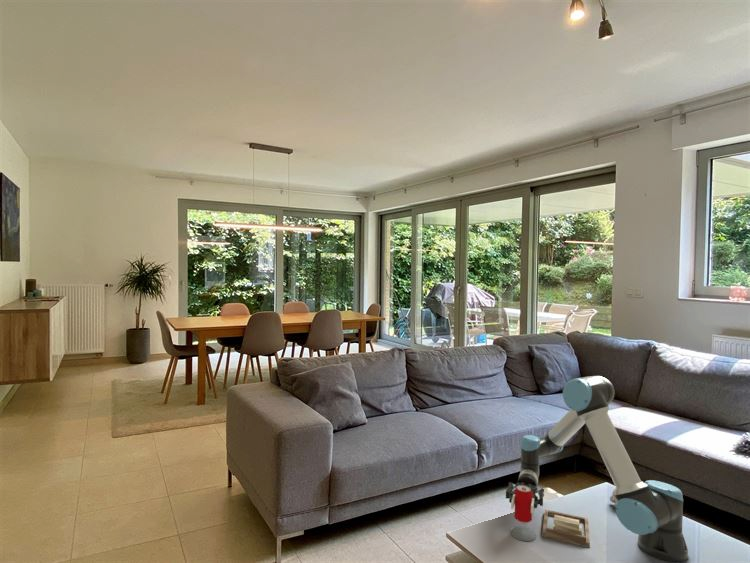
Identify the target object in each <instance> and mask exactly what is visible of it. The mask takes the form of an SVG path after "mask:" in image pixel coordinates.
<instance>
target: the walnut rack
mask: <svg viewBox="0 0 750 563" xmlns="http://www.w3.org/2000/svg"><path fill="white" fill-rule="evenodd" d="M555 515H558V516H563V517H567V518H572V519H576V520H579V523H584V532H585V535H583V534H582V535H578V534H573V533H569V532H564V531H560V530H555V529H553V528H550V527H548V519H549V518H548V516H549V517H550V516H551V517H554V516H555ZM589 525H590V524H589V518H588V517H583V516H578V515H574V514H568V513H563V512H559V511H554V510H549V509H544V516H543V523H542V533H541V534H542V537H544V538H547V539H552V540H557V541H562V542H566V543H570V544H574V545H578V546H583V547H587V548H590V547H591V546H590V528H589Z"/></svg>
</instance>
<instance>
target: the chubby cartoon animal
mask: <svg viewBox="0 0 750 563" xmlns="http://www.w3.org/2000/svg"><path fill="white" fill-rule="evenodd" d="M615 490H616V487H615V488H614V489H613V491H612V494H611V496H610V497H609V501H610V502H612V503H614V504H613V505H614V508H615V509H616V504H617V503H618V501H617V499H616V497H615V495H614V493H615Z"/></svg>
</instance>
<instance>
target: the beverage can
mask: <svg viewBox="0 0 750 563" xmlns="http://www.w3.org/2000/svg"><path fill="white" fill-rule="evenodd" d="M515 489H516V490H515ZM515 489H514V490H515V504H514V519H515V520H516V521H518V522H519V523H522V524H528V523H530V522H532V521H533V520H532V519H533V513H531V503H532V491H531V488H530V487H528V486H525V485H518V486H517V488H515Z"/></svg>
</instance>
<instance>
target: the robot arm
mask: <svg viewBox="0 0 750 563" xmlns="http://www.w3.org/2000/svg"><path fill="white" fill-rule="evenodd" d="M615 392H616V391H615V389H614V385H613V384H612V382H611V381H610V380H609V379H607V378H606V377H603V376H601V375H591V376H582V377H576V378H573V379H571V380H569V381H567V382H566V384H565V385H564V387H563V389H562V398H563V402H564V403H565V405H566V407H567V408H569V409H570V410H568V412H566V413H565V415H563V417H562V418H561V419H560V420H559V421H558V422H557V423H556V424H555V425H554V427H552V429H551V430H550V431H549V432H547V433H546V435H545V436H543V437H540V438H539V436H536V435H533V434H531V435H530V434H526V435H523V436H522V437H521V444H520V447H521V448H520V471H519V475H518V479H517V482H516V483H515V484H514V483H513V482H511V481H508V487H507V488H506V490H505V499H507V500H508V499H509V500H508V503H510V505H511V506H510V508H511V509H510V510H514V509H515V490H516V488H517V486H518V485H525V486H528V487H530V488H531V491H532V503H531V513H532V514H534V509H537V508H538V506H541V507H543V505H544V496H545V489H544V488H538V483H539V477H540V473H541V471H540V458H543V457H547V456H551V455H555V454H558V453H561V452H562V451H563V450H564V445H565V444H566V443H567V442H568V441H569V440H570V439H571V438H572V437H573V436H574V435H575V434H576V433H577V432H578V431H579V430H580V429H581V428H582V427H583V426H584V425H585V424H586V427H587V428H588V429H587V430H588V431H589V434H590V435H591V437H592V439H593V442H594V444H595V446H596V448H597V450H598V452H599V454H600V456H601V459H602V461H603V463H604V465H605V467H606V469H607V471H608V474H609V475H610V478H611V479H612V483H613V484H614V486H615V488H616V490H615V493H614V495H615V497H616V499H617V501H618V503H617V504H616V508H615V514H616V517H617V519H618V520H619V523H620V524H621V525H622V526H623V527H624V528H626V530H628V531H630V532H631V533H633V534H635V535H637V545H638V546H639V548H640V549H641V550H642V551H644V552H645V553H647V555H650V556H652V557H654V558H657V559H660V560H663V561H667V562H674V563H680V562H684V561H687V560H688V558H689V549H688V546H687V543H686V540H685V536H684V534H683V521H684V520H683V517H684V516H683V511H684V510H683V509H684V497H683V491H682V490H681V489H680V488H679V487H677V486H674V485H673V484H670V483H666V482H664V481H658V480H653V479H652V480H651V479H649V480H646V481H642V480H641V478H640V476H639V474H638V472H637V469H636V468H635V466H634V464H633V462H632V460H631V458H630V455H629V453H628V452H627V449H626V447H625V445H624V444H623V442H622V440H621V438H620V436H619V433H618V431H617V429H616V427H615V426H614V424H613V422H612V420H611V418H610V416H609V409H610V406H609V405H610V404H611V403H612V401H613V400H614V398H615V394H616V393H615ZM536 494H538V496H537V495H536Z"/></svg>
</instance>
